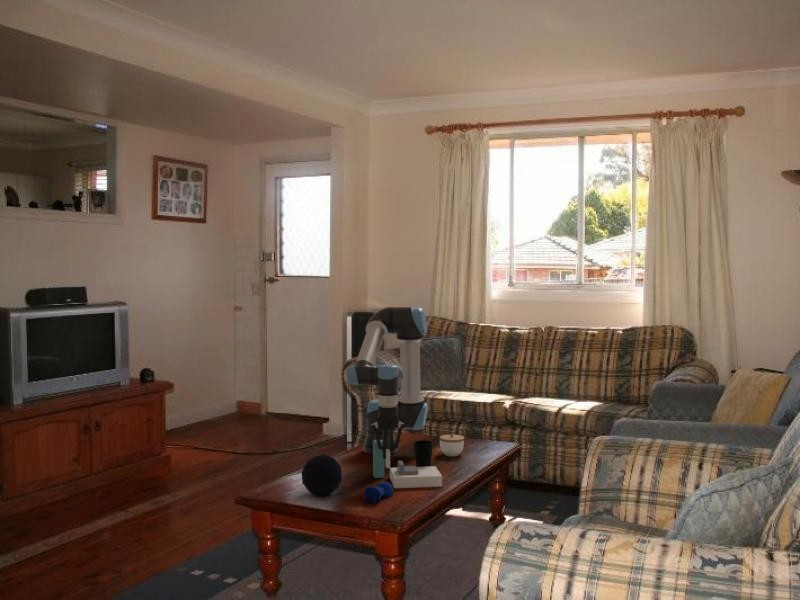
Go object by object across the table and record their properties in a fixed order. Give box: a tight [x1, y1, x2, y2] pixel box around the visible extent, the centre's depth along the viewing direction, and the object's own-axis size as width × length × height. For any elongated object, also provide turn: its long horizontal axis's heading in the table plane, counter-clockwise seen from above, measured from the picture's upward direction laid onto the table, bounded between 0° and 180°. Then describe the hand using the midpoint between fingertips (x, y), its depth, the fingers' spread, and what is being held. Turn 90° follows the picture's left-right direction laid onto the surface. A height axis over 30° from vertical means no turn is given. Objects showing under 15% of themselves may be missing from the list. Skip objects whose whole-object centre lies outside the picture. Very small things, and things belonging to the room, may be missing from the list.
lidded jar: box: [439, 432, 465, 457], centre depth 343 cm, size 11×11×9 cm
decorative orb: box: [300, 454, 343, 497], centre depth 285 cm, size 14×15×15 cm
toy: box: [363, 481, 394, 505], centre depth 281 cm, size 7×6×15 cm
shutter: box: [396, 460, 418, 475], centre depth 300 cm, size 7×7×4 cm
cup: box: [413, 439, 434, 467], centre depth 315 cm, size 8×8×12 cm
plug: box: [372, 440, 385, 479], centre depth 309 cm, size 4×4×14 cm
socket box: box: [389, 465, 443, 489], centre depth 301 cm, size 14×18×4 cm
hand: (387, 467), depth 299 cm, fingers closed
